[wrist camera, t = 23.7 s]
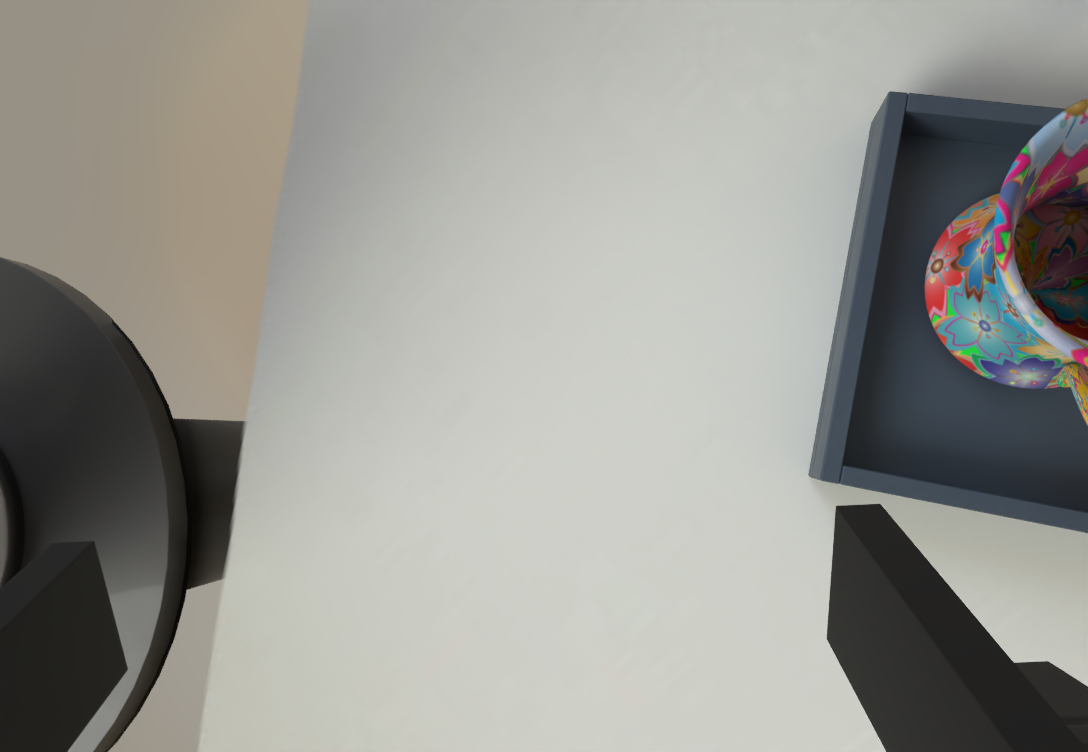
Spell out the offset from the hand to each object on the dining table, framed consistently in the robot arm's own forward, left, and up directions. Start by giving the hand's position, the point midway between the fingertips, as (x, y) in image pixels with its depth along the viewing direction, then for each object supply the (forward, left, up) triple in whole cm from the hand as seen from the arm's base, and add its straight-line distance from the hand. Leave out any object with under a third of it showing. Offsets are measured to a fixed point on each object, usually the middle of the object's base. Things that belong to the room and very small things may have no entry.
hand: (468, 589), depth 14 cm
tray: (+16, +11, -24) cm, 31 cm away
